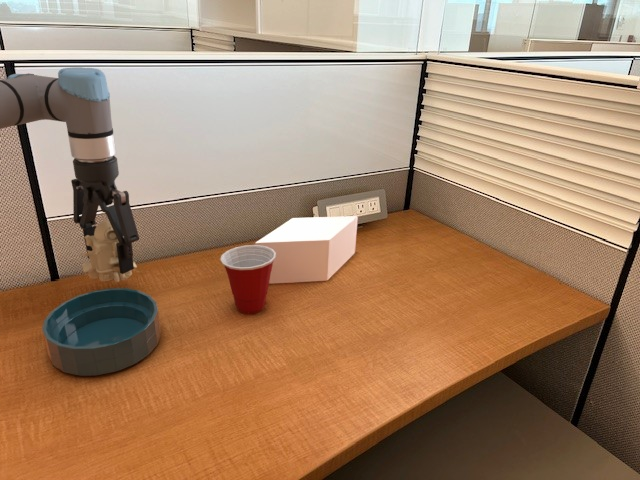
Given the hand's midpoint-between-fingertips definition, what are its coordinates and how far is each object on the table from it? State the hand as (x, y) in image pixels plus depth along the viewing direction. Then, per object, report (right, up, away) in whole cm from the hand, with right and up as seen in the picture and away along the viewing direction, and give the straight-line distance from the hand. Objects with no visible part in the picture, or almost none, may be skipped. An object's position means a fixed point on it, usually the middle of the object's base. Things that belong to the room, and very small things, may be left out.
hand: (110, 263), depth 98 cm
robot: (0, -3, +1) cm, 3 cm away
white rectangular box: (+40, -2, +16) cm, 44 cm away
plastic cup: (+28, -9, 0) cm, 30 cm away
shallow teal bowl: (+5, -14, -13) cm, 19 cm away
